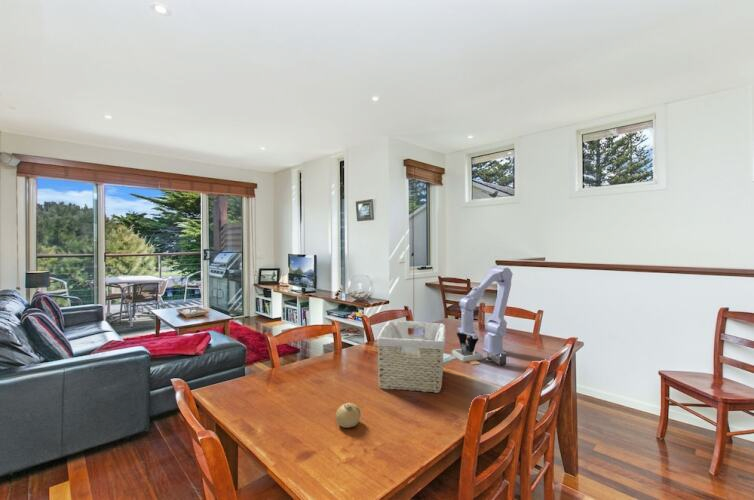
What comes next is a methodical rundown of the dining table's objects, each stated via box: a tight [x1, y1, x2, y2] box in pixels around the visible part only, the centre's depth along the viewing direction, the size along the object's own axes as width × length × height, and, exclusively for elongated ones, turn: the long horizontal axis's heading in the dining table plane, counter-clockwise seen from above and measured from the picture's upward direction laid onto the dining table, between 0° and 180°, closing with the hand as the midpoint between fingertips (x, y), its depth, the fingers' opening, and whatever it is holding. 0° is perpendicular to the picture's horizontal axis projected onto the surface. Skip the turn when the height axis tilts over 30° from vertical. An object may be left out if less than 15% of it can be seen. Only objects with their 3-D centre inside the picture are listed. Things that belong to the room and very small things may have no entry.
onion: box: [335, 402, 361, 429], centre depth 112 cm, size 8×8×7 cm
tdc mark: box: [467, 360, 481, 366], centre depth 166 cm, size 4×4×1 cm
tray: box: [451, 348, 484, 363], centre depth 174 cm, size 11×11×2 cm
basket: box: [376, 320, 447, 394], centre depth 147 cm, size 27×27×22 cm
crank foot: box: [484, 356, 496, 364], centre depth 169 cm, size 5×5×1 cm
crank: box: [486, 351, 507, 367], centre depth 165 cm, size 12×3×5 cm, turn 18°
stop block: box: [461, 342, 473, 356], centre depth 174 cm, size 4×4×6 cm
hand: (467, 349), depth 174 cm, fingers open, 7 cm apart
